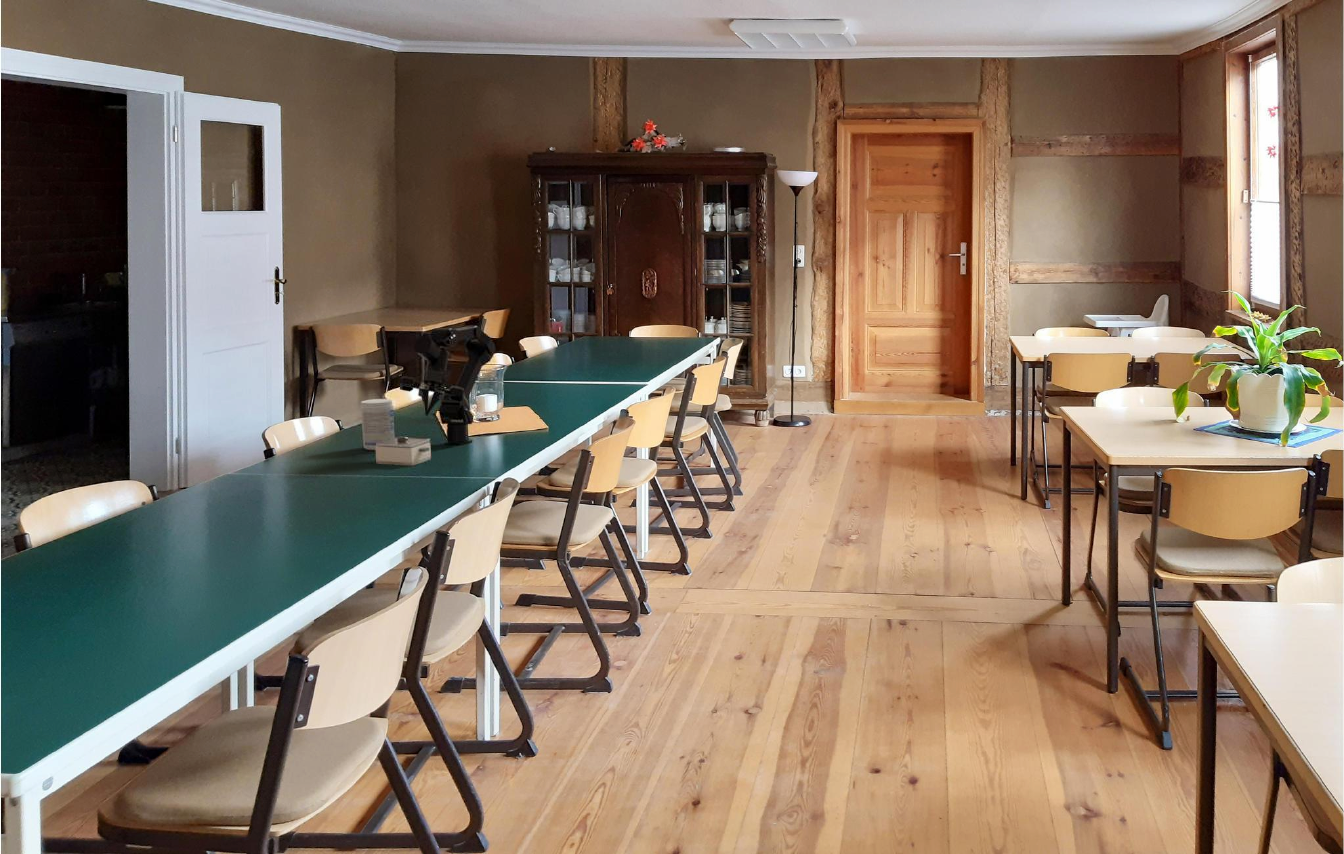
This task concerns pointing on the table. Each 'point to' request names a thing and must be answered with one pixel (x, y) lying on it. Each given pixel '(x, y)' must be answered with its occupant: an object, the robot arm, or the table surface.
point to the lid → (403, 442)
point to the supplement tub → (377, 422)
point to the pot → (403, 454)
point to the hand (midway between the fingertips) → (426, 415)
